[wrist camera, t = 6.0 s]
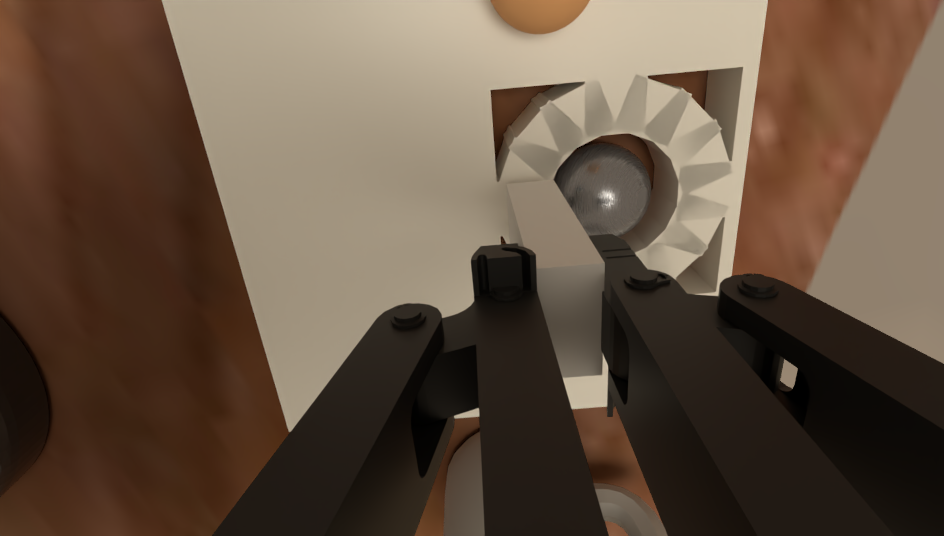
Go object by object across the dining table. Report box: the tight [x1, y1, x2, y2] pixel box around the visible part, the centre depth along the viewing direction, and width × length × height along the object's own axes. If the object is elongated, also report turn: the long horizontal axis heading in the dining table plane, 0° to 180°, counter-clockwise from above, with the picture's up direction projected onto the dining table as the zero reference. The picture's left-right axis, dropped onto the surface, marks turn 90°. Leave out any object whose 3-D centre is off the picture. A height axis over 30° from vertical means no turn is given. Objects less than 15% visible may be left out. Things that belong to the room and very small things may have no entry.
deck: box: [162, 0, 768, 432], centre depth 19 cm, size 18×18×2 cm
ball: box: [553, 143, 651, 237], centre depth 19 cm, size 4×4×4 cm
